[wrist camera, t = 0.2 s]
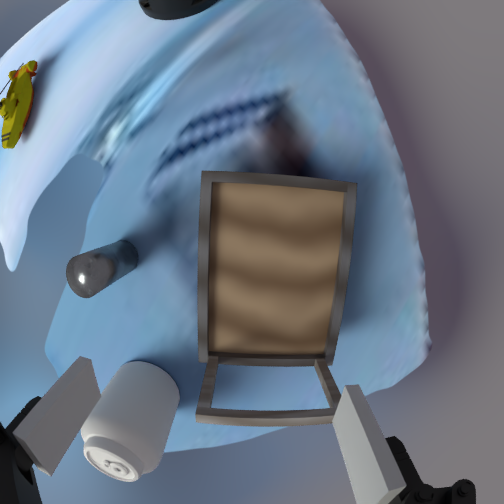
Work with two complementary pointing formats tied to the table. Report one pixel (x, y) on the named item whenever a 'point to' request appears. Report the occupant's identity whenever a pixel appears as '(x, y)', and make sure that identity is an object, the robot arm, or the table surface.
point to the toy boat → (17, 103)
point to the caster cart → (272, 282)
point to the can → (131, 421)
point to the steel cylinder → (100, 268)
